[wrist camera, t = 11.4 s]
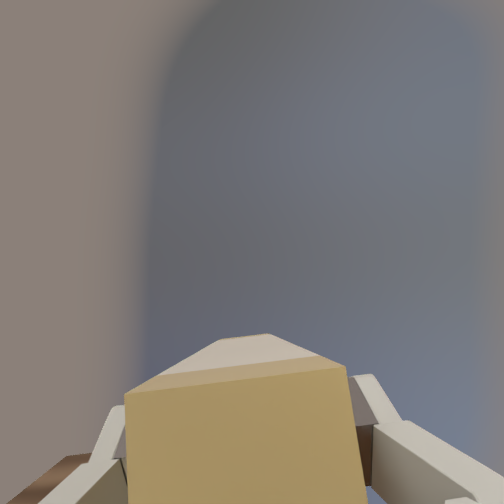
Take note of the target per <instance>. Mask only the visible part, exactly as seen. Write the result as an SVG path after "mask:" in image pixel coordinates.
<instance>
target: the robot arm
mask: <svg viewBox="0 0 504 504" xmlns="http://www.w3.org/2000/svg"><path fill="white" fill-rule="evenodd" d="M347 379H348V385H349V391H350V397H351V403H352V409H353V415H354V421H355V427H356V433H357V439H358V446H359V452H360V458H361V464H362V470H363V476H364V482H365V486H372V489H373V490H374V491H375V492H376V493H377V494H378V495H379V496H380V497H381V498H382V499H383V500H384V501H385V502H386V503H387V504H504V477H502V476H501V475H499V474H497V473H496V472H494V471H492V470H491V469H489V468H487V467H486V466H484V465H482V464H481V463H479V462H477V461H476V460H474V459H472V458H471V457H469V456H467V455H465V454H464V453H462V452H461V451H459V450H457V449H456V448H454V447H452V446H451V445H449V444H447V443H445V442H444V441H442V440H441V439H439V438H437V437H435V436H434V435H432V434H430V433H429V432H427V431H426V430H424V429H422V428H420V427H419V426H417V425H416V424H414V423H412V422H411V421H402V419H401V418H400V416H399V414H398V413H397V411H396V410H395V408H394V407H393V405H392V404H391V402H390V400H389V399H388V397H387V395H386V394H385V392H384V391H383V389H382V388H381V386H380V384H379V383H378V381H377V380H376V378H375V377H374V375H372V374H365V375H358V376H352V377H347ZM38 504H128V484H127V457H126V429H125V405H120V406H114V407H113V408H112V409H111V411H110V413H109V415H108V417H107V420H106V422H105V424H104V427H103V429H102V431H101V434H100V436H99V439H98V441H97V443H96V445H95V448H94V450H93V452H92V455H91V457H90V459H89V462H88V463H84V464H81V465H80V466H79V467H78V468H76V469H75V470H74V471H73V472H72V473H71V474H70V475H69V476H68V477H67V478H65V479H64V480H63V481H62V482H61V483H60V484H59V485H58V486H57V487H56V488H54V489H53V490H52V491H51V492H50V493H49V494H48V495H47V496H46V497H45V498H43V499H42V500H41V501H40V502H39V503H38Z"/></svg>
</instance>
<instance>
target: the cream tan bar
mask: <svg viewBox="0 0 504 504" xmlns="http://www.w3.org/2000/svg"><path fill="white" fill-rule="evenodd" d="M124 400H125V401H124V402H125V429H126V457H127V484H128V504H368V500H367V494H366V488H365V482H364V476H363V470H362V464H361V458H360V452H359V446H358V439H357V433H356V427H355V421H354V415H353V409H352V403H351V397H350V391H349V385H348V379H347V374H346V367H345V366H343V365H341V364H338V363H336V362H334V361H331V360H329V359H327V358H324V357H322V356H320V355H317V354H315V353H313V352H310V351H308V350H306V349H304V348H301V347H299V346H296V345H294V344H292V343H289V342H287V341H285V340H282V339H280V338H278V337H276V336H273V335H271V334H260V335H252V336H243V337H235V338H227V339H220V340H218V341H216V342H215V343H213V344H211V345H209V346H207V347H206V348H204V349H202V350H200V351H199V352H197V353H195V354H193V355H192V356H190V357H188V358H187V359H185V360H183V361H181V362H180V363H178V364H176V365H175V366H173V367H171V368H169V369H167V370H166V371H164V372H162V373H160V374H159V375H157V376H155V377H153V378H152V379H150V380H148V381H147V382H145V383H143V384H141V385H139V386H138V387H136V388H134V389H132V390H131V391H129V392H127V393H126V394H125V395H124Z"/></svg>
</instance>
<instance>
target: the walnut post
mask: <svg viewBox="0 0 504 504" xmlns="http://www.w3.org/2000/svg"><path fill="white" fill-rule="evenodd" d="M91 455H92V453H89V454H80V455H73V456H66V457H65V458H64V459H62V460H61V461H60V462H59V463H57V464H56V465H55V466H53V467H52V468H51V469H50V470H49V471H47V472H46V473H45V474H43V475H42V476H41V477H40V478H38V479H37V480H36V481H35V482H33V483H32V484H31V485H30V486H28V487H27V488H26V489H24V490H23V491H22V492H21V493H20V494H18V495H17V496H16V497H14V498H13V499H12V500H11V501H9V502H8V503H7V504H38V503H39V502H40V501H41V500H42V499H43V498H45V497H46V496H47V495H48V494H49V493H50V492H51V491H52V490H53V489H54V488H56V487H57V486H58V485H59V484H60V483H61V482H62V481H63V480H64V479H65V478H67V477H68V476H69V475H70V474H71V473H72V472H73V471H74V470H75V469H76V468H78V467H79V466H80V465H81V464H84V463H88V462H89V459H90V457H91Z"/></svg>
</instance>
